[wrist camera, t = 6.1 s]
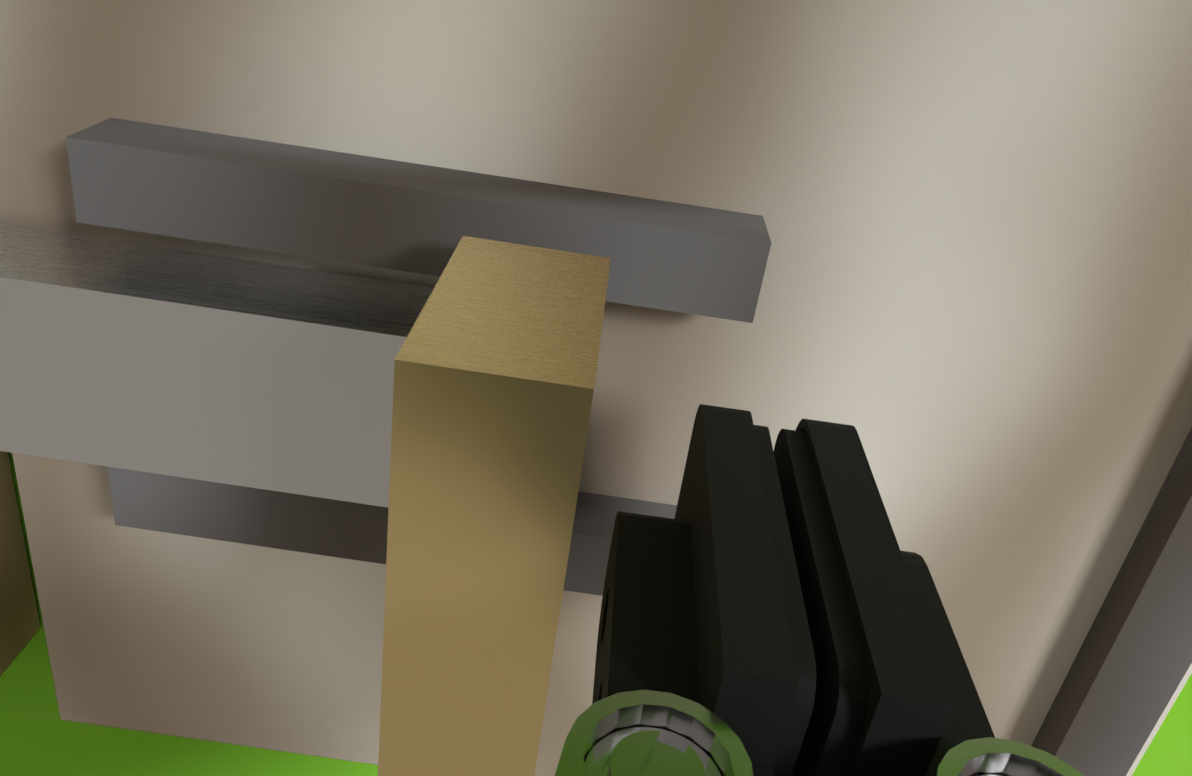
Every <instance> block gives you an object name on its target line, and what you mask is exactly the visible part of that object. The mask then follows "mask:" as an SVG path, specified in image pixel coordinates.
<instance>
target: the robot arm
mask: <svg viewBox="0 0 1192 776" xmlns="http://www.w3.org/2000/svg"><path fill="white" fill-rule="evenodd" d="M555 776H1084V775H1082V774H1081V773H1080V772H1079V771H1078V770H1076V769H1075V768H1074V767H1072V766H1070V765H1069V764H1067V763H1065V762H1063V761H1062V760H1060V759H1058V758H1057V757H1055V756H1053V755H1051V754H1050V753H1048V752H1046V751H1043V750H1041V749H1038V748H1035V747H1032V746H1030V745H1027V744H1024V743H1021V742H1019V741H1014V740H1007V739H1000V738H995V736H994V733H993V731H992V728H991V726H990V723H989V721H988V718H987V716H986V713H985V710H984V708H983V705H982V703H981V700H980V698H979V695H978V693H977V690H976V688H975V685H974V683H973V680H972V677H971V675H970V672H969V670H968V667H967V665H966V662H965V660H964V657H963V655H962V652H961V650H960V647H959V645H958V642H957V639H956V637H955V634H954V632H953V629H952V627H951V624H950V622H949V619H948V617H947V614H946V612H945V609H944V606H943V604H942V601H941V599H940V596H939V594H938V591H937V589H936V586H935V584H934V581H933V579H932V576H931V574H930V571H929V568H928V566H927V564H926V563H925V561H924V559H923V557H922V556H920V555H919V554H917V553H915V552H907V551H900V548H899V545H898V542H897V540H896V537H895V534H894V531H893V529H892V526H891V523H890V520H889V518H888V515H887V512H886V509H885V507H884V504H883V501H882V498H881V496H880V493H879V490H878V487H877V485H876V482H875V479H874V476H873V474H872V471H871V468H870V465H869V463H868V460H867V457H866V454H865V452H864V449H863V446H862V443H861V441H860V438H859V435H858V432H857V430H856V428H855V427H854V426H852V425H846V424H838V423H831V422H824V421H817V420H810V419H802V420H801V421H800V422H799V424H798V426H797V428H796V431H795V430H788V429H781V430H780V432H779V434H778V436H777V439H776V443H775V447H774V451H773V447H772V442H771V437H770V432H769V428H768V427H766V426H759V425H753V420H752V415H751V412H750V411H746V410H739V409H732V408H725V407H718V406H710V405H703V404H700V405H699V407H698V410H697V413H696V417H695V421H694V425H693V430H692V435H691V440H690V445H689V450H688V455H687V460H686V464H685V469H684V474H683V479H682V484H681V489H680V494H679V499H678V503H677V508H676V513H675V518H674V519H671V518H664V517H656V516H649V515H642V514H635V513H628V512H621V511H618V512H617V515H616V519H615V523H614V529H613V534H612V540H611V546H610V552H609V558H608V564H607V570H606V576H605V583H604V590H603V597H602V605H601V613H600V621H599V630H598V640H597V651H596V663H595V675H594V688H593V700H592V705H591V706H590V707H589V708H588V709H586V710H585V711H584V712H583V713H582V714H581V715H580V716H578V717H577V718H576V720H575V722H574V724H573V726H572V728H571V730H570V732H569V734H568V735H567V737H566V740H565V743H564V746H563V749H562V753H561V756H560V759H559V763H558V766H557V769H556V773H555Z"/></svg>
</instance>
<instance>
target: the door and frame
mask: <svg viewBox="0 0 1192 776" xmlns="http://www.w3.org/2000/svg"><path fill="white" fill-rule="evenodd" d="M0 223H4V224H11V225H18V226H24V227H31V228H38V229H44V230H51V231H58V232H65V233H71V234H78V235H85V236H91V237H98V238H105V239H112V240H118V241H125V242H132V243H138V244H145V245H152V246H159V247H165V248H172V249H179V250H185V251H192V252H199V253H206V254H212V255H219V256H226V257H232V258H239V259H246V260H252V261H259V262H266V263H273V264H279V265H286V266H293V267H299V268H306V269H313V270H320V271H326V272H333V273H340V274H346V275H353V276H360V277H367V278H373V279H380V280H387V281H393V282H400V283H407V284H413V285H420V286H427V287H435V285H436V284H437V282H438V280H439V278H440V276H441V275H442V273H443V271H444V269H445V267H446V266H447V264H448V262H449V260H450V258H451V257H452V255H453V253H454V251H455V249H456V248H457V246H458V244H459V242H460V240H461V238H462V237H463V236H468V237H474V238H481V239H488V240H494V241H501V242H508V243H514V244H521V245H528V246H534V247H541V248H548V249H554V250H561V251H568V252H574V253H581V254H588V255H594V256H601V257H608V258H611V261H610V269H609V277H608V284H607V292H606V300H605V308H604V316H603V324H602V332H601V340H600V347H599V355H598V363H597V371H596V379H595V387H594V394H593V400H592V407H591V413H590V420H589V426H588V433H587V439H586V446H585V452H584V459H583V465H582V472H581V478H580V485H579V491H578V498H577V504H576V511H575V517H574V524H573V530H572V536H571V543H570V549H569V556H568V562H567V569H566V575H565V582H564V588H563V595H562V601H561V608H560V614H559V621H558V627H557V634H556V640H555V647H554V653H553V660H552V666H551V673H550V679H549V686H548V692H547V699H546V705H545V712H544V718H543V725H542V731H541V738H540V744H539V751H538V757H537V764H536V770H535V776H555V773H556V769H557V766H558V763H559V759H560V756H561V753H562V749H563V746H564V743H565V740H566V737H567V735H568V734H569V732H570V730H571V728H572V726H573V724H574V722H575V720H576V718H577V717H578V716H580V715H581V714H582V713H583V712H584V711H585V710H586V709H588V708H589V707H590V706H591V705H592V700H593V688H594V675H595V663H596V651H597V640H598V630H599V621H600V613H601V605H602V597H603V590H604V583H605V576H606V570H607V564H608V558H609V552H610V546H611V540H612V534H613V529H614V523H615V519H616V515H617V512H618V511H621V512H628V513H635V514H642V515H649V516H656V517H664V518H671V519H674V518H675V513H676V508H677V503H678V499H679V494H680V489H681V484H682V479H683V474H684V469H685V464H686V460H687V455H688V450H689V445H690V440H691V435H692V430H693V425H694V421H695V417H696V413H697V410H698V407H699V405H700V404H703V405H710V406H718V407H725V408H732V409H739V410H746V411H750V412H751V415H752V420H753V425H759V426H766V427H768V428H769V432H770V437H771V442H772V447H773V451H774V447H775V443H776V439H777V436H778V434H779V432H780V430H781V429H788V430H795V431H796V428H797V426H798V424H799V422H800V421H801V420H802V419H810V420H817V421H824V422H831V423H838V424H846V425H852V426H854V427H855V428H856V430H857V432H858V435H859V438H860V441H861V443H862V446H863V449H864V452H865V454H866V457H867V460H868V463H869V465H870V468H871V471H872V474H873V476H874V479H875V482H876V485H877V487H878V490H879V493H880V496H881V498H882V501H883V504H884V507H885V509H886V512H887V515H888V518H889V520H890V523H891V526H892V529H893V531H894V534H895V537H896V540H897V542H898V545H899V548H900V551H907V552H915V553H917V554H919V555H920V556H922V557H923V559H924V561H925V563H926V564H927V566H928V568H929V571H930V574H931V576H932V579H933V581H934V584H935V586H936V589H937V591H938V594H939V596H940V599H941V601H942V604H943V606H944V609H945V612H946V614H947V617H948V619H949V622H950V624H951V627H952V629H953V632H954V634H955V637H956V639H957V642H958V645H959V647H960V650H961V652H962V655H963V657H964V660H965V662H966V665H967V667H968V670H969V672H970V675H971V677H972V680H973V683H974V685H975V688H976V690H977V693H978V695H979V698H980V700H981V703H982V705H983V708H984V710H985V713H986V716H987V718H988V721H989V723H990V726H991V728H992V731H993V733H994V736H995V738H1000V739H1007V740H1014V741H1019V742H1021V743H1024V744H1027V745H1030V746H1032V747H1035V748H1038V749H1041V750H1043V751H1046V752H1048V753H1050V754H1051V755H1053V756H1055V757H1057V758H1058V759H1060V760H1062V761H1063V762H1065V763H1067V764H1069V765H1070V766H1072V767H1074V768H1075V769H1076V770H1078V771H1079V772H1080V773H1081V774H1082V775H1084V776H1131V775H1132V774H1133V772H1134V770H1135V769H1136V767H1137V765H1138V764H1139V762H1140V760H1141V758H1142V757H1143V755H1144V753H1145V752H1146V750H1147V748H1148V746H1149V745H1150V743H1151V741H1152V740H1153V738H1154V736H1155V735H1156V733H1157V731H1158V729H1159V728H1160V726H1161V724H1162V723H1163V721H1164V719H1165V718H1166V716H1167V714H1168V712H1169V711H1170V709H1171V707H1172V706H1173V704H1174V702H1175V701H1176V699H1177V697H1178V695H1179V694H1180V692H1181V690H1182V689H1183V687H1184V685H1185V683H1186V682H1187V680H1188V678H1189V677H1190V675H1191V673H1192V0H0ZM12 455H13V461H14V466H15V472H16V477H17V483H18V488H19V494H20V499H21V505H22V510H23V516H24V521H25V527H26V532H27V538H28V543H29V549H30V554H31V560H32V565H33V570H34V576H35V581H36V587H37V592H38V598H39V603H40V609H41V614H42V620H43V625H44V631H45V636H46V642H47V647H48V653H49V658H50V664H51V669H52V675H53V680H54V686H55V691H56V696H57V702H58V707H59V713H60V718H61V720H67V721H74V722H81V723H88V724H95V725H102V726H109V727H116V728H123V729H130V730H137V731H144V732H151V733H158V734H165V735H172V736H179V737H186V738H193V739H200V740H207V741H214V742H221V743H228V744H235V745H242V746H249V747H256V748H263V749H271V750H278V751H285V752H292V753H299V754H306V755H313V756H320V757H327V758H334V759H341V760H348V761H355V762H362V763H369V764H376V765H378V758H379V733H380V708H381V683H382V658H383V634H384V609H385V584H386V559H387V534H388V509H389V508H388V507H381V506H374V505H367V504H360V503H354V502H347V501H340V500H333V499H326V498H319V497H313V496H306V495H299V494H292V493H285V492H278V491H271V490H265V489H258V488H251V487H244V486H237V485H230V484H223V483H217V482H210V481H203V480H196V479H189V478H182V477H176V476H169V475H162V474H155V473H148V472H141V471H134V470H128V469H121V468H114V467H107V466H100V465H93V464H86V463H80V462H73V461H66V460H59V459H52V458H45V457H39V456H32V455H25V454H18V453H12ZM39 629H40V623H39V617H38V612H37V606H36V601H35V595H34V590H33V585H32V579H31V574H30V568H29V563H28V558H27V552H26V547H25V541H24V536H23V531H22V525H21V520H20V514H19V509H18V504H17V498H16V493H15V487H14V482H13V476H12V471H11V466H10V460H9V455H8V452H4V451H0V676H1V675H2V674H3V672H4V671H5V670H6V669H7V668H8V666H9V665H10V664H11V663H12V662H13V660H14V659H15V658H16V657H17V656H18V654H19V653H20V652H21V651H22V650H23V648H24V647H25V646H26V645H27V644H28V642H29V641H30V640H31V639H32V637H33V636H34V635H35V634H36V633H37V631H38V630H39Z"/></svg>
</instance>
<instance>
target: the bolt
mask: <svg viewBox="0 0 1192 776" xmlns="http://www.w3.org/2000/svg"><path fill="white" fill-rule="evenodd" d="M610 261H611V258H608V257H601V256H594V255H588V254H581V253H574V252H568V251H561V250H554V249H548V248H541V247H534V246H528V245H521V244H514V243H508V242H501V241H494V240H488V239H481V238H474V237H468V236H463V237H462V238H461V240H460V242H459V244H458V246H457V248H456V249H455V251H454V253H453V255H452V257H451V258H450V260H449V262H448V264H447V266H446V267H445V269H444V271H443V273H442V275H441V276H440V278H439V280H438V282H437V284H436V285H435V287H427V286H420V285H413V284H407V283H400V282H393V281H387V280H380V279H373V278H367V277H360V276H353V275H346V274H340V273H333V272H326V271H320V270H313V269H306V268H299V267H293V266H286V265H279V264H273V263H266V262H259V261H252V260H246V259H239V258H232V257H226V256H219V255H212V254H206V253H199V252H192V251H185V250H179V249H172V248H165V247H159V246H152V245H145V244H138V243H132V242H125V241H118V240H112V239H105V238H98V237H91V236H85V235H78V234H71V233H65V232H58V231H51V230H44V229H38V228H31V227H24V226H18V225H11V224H4V223H0V451H4V452H11V453H18V454H25V455H32V456H39V457H45V458H52V459H59V460H66V461H73V462H80V463H86V464H93V465H100V466H107V467H114V468H121V469H128V470H134V471H141V472H148V473H155V474H162V475H169V476H176V477H182V478H189V479H196V480H203V481H210V482H217V483H223V484H230V485H237V486H244V487H251V488H258V489H265V490H271V491H278V492H285V493H292V494H299V495H306V496H313V497H319V498H326V499H333V500H340V501H347V502H354V503H360V504H367V505H374V506H381V507H388V508H389V509H388V534H387V559H386V584H385V609H384V634H383V658H382V683H381V708H380V733H379V758H378V776H535V770H536V764H537V757H538V751H539V744H540V738H541V731H542V725H543V718H544V712H545V705H546V699H547V692H548V686H549V679H550V673H551V666H552V660H553V653H554V647H555V640H556V634H557V627H558V621H559V614H560V608H561V601H562V595H563V588H564V582H565V575H566V569H567V562H568V556H569V549H570V543H571V536H572V530H573V524H574V517H575V511H576V504H577V498H578V491H579V485H580V478H581V472H582V465H583V459H584V452H585V446H586V439H587V433H588V426H589V420H590V413H591V407H592V400H593V394H594V387H595V379H596V371H597V363H598V355H599V347H600V340H601V332H602V324H603V316H604V308H605V300H606V292H607V284H608V277H609V269H610Z"/></svg>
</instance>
